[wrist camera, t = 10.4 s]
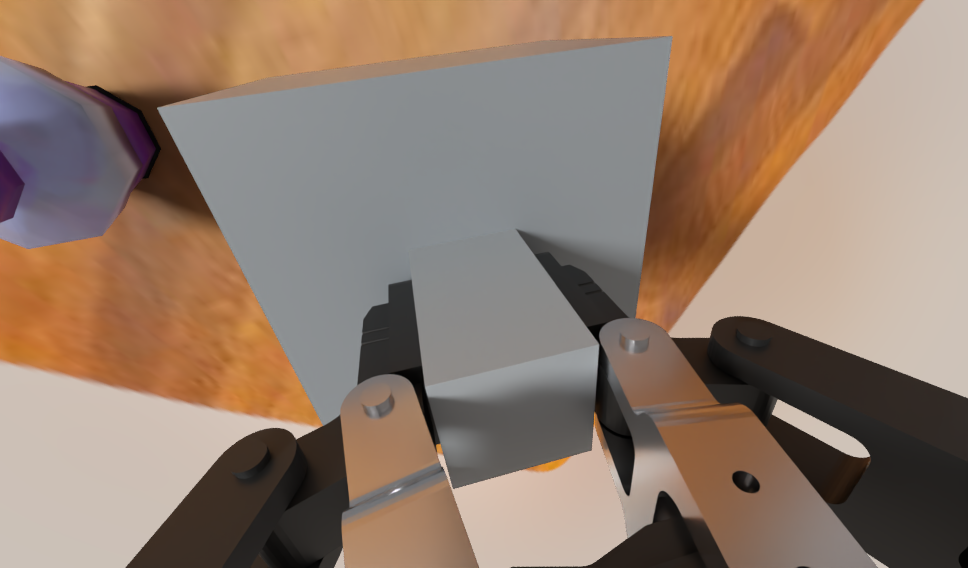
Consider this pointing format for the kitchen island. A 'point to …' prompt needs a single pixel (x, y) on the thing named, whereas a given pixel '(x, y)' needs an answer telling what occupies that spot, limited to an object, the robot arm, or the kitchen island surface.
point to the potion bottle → (65, 157)
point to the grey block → (444, 222)
